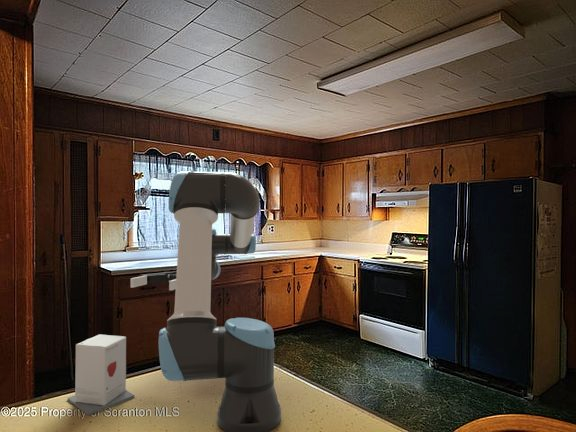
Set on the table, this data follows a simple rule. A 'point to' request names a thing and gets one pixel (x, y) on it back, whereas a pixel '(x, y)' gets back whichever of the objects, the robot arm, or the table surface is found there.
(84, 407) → the mat
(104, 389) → the supplement box
